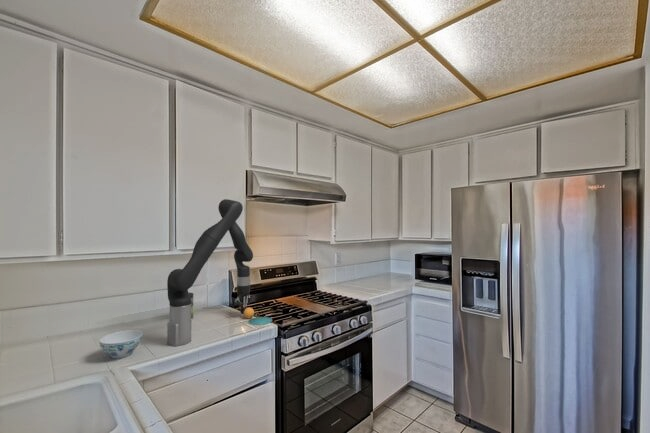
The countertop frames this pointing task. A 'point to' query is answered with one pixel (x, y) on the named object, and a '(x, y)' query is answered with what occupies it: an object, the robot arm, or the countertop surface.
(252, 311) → the ball
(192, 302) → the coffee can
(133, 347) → the chinaware
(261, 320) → the disc
